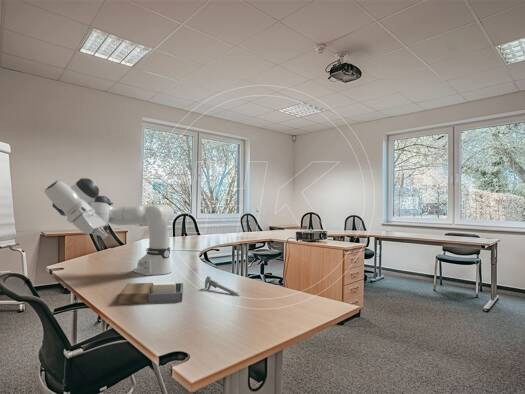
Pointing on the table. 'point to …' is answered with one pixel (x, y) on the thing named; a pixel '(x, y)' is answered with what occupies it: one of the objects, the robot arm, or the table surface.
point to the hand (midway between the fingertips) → (106, 237)
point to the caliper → (215, 285)
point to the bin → (168, 295)
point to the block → (164, 287)
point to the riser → (136, 293)
